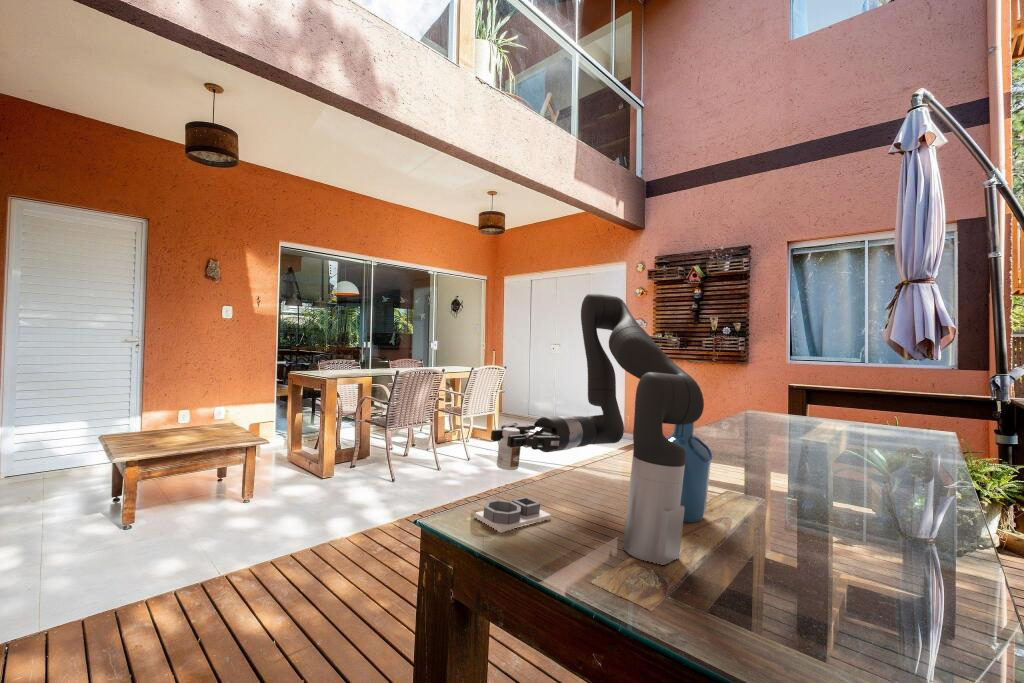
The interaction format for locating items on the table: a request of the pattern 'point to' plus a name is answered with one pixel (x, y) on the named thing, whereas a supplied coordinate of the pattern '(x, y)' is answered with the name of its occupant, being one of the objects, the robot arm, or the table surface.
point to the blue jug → (693, 472)
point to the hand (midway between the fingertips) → (500, 438)
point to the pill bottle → (508, 451)
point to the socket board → (511, 513)
